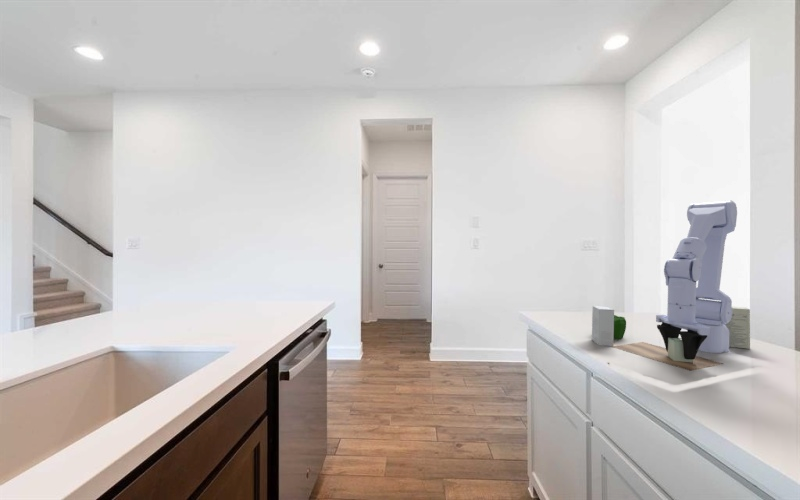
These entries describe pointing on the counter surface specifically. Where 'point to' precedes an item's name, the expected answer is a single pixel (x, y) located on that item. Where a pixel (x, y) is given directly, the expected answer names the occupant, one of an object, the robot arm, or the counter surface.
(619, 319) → the bell pepper
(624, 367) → the counter surface
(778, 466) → the counter surface
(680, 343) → the sage cube with dome
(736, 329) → the skincare box
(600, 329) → the skincare box
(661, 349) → the board
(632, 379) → the counter surface
